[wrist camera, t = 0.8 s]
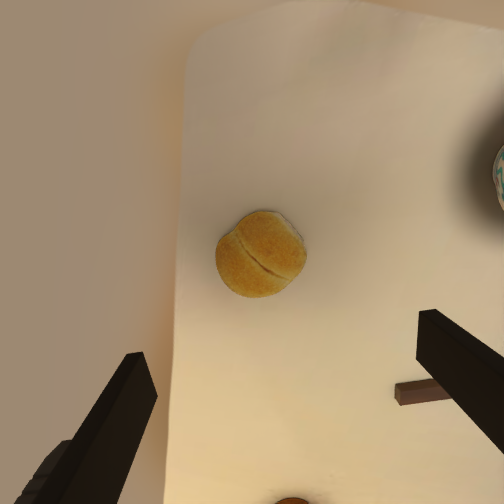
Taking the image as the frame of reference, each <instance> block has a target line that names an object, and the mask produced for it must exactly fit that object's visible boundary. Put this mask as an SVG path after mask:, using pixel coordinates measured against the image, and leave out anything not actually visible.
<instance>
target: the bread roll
mask: <svg viewBox="0 0 504 504" xmlns="http://www.w3.org/2000/svg"><path fill="white" fill-rule="evenodd" d="M306 258H307V255H306V248H305V245H304V240H303V239H302V237H301V236H300V235H299V234H298V232H297V231H296V230H295V228H294V227H293V226H292V225H291V224H290V223H289V222H288V221H287V220H286V219H284V218H283V216H282V215H281V214H279V213H278V212H265V211H259V212H255V213H253V214H251V215H248V216H246V217H245V218H243V219H242V220H241V221H240V222H239V224H238V225H237V227H236V228H235V229H234V230H233V231H232V232H231V233H229V234H227V235H226V236H224V237H223V238H222V239H221V240H220V241H219V243H218V245H217V248H216V266H217V270H218V272H219V274H220V276H221V278H222V280H223V282H224V283H225V284H226V285H227V286H228V287H229V288H230V289H231V290H232V291H234V292H235V293H237V294H239V295H241V296H244V297H249V298H259V297H266V296H269V295H273V294H276V293H278V292H279V291H281V290H282V289H284V288H285V287H286V286H287V285H288V284H289V283H290V282H291V281H292V280H293V279H294V278H295V277H296V276H298V274H299V273H300V272H301V270H302V268H303V266H304V264H305V262H306Z"/></svg>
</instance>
